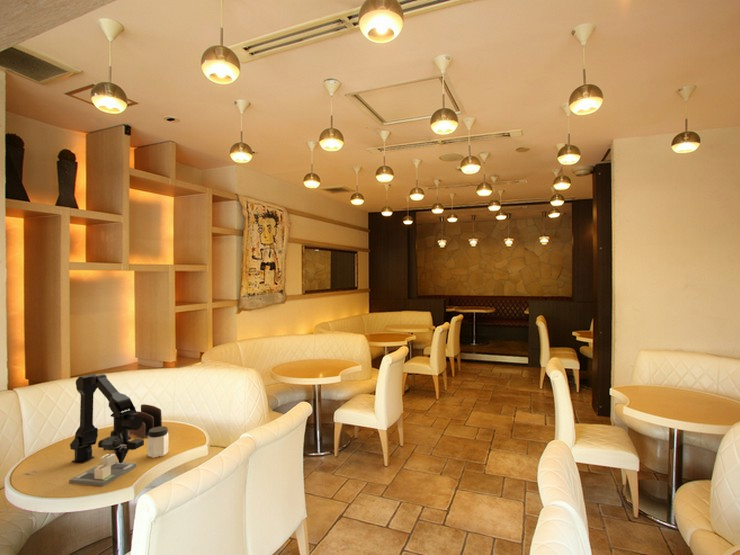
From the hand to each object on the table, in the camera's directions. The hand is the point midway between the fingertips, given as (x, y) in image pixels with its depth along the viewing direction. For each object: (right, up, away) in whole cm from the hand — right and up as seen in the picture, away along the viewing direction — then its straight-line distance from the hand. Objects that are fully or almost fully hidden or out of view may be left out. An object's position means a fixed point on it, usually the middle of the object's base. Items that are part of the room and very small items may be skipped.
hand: (121, 462), depth 177 cm
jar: (+7, -4, +17) cm, 19 cm away
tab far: (-7, -2, +1) cm, 7 cm away
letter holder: (-16, -5, +46) cm, 49 cm away
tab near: (-2, -1, -10) cm, 10 cm away
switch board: (-5, -3, -4) cm, 7 cm away
